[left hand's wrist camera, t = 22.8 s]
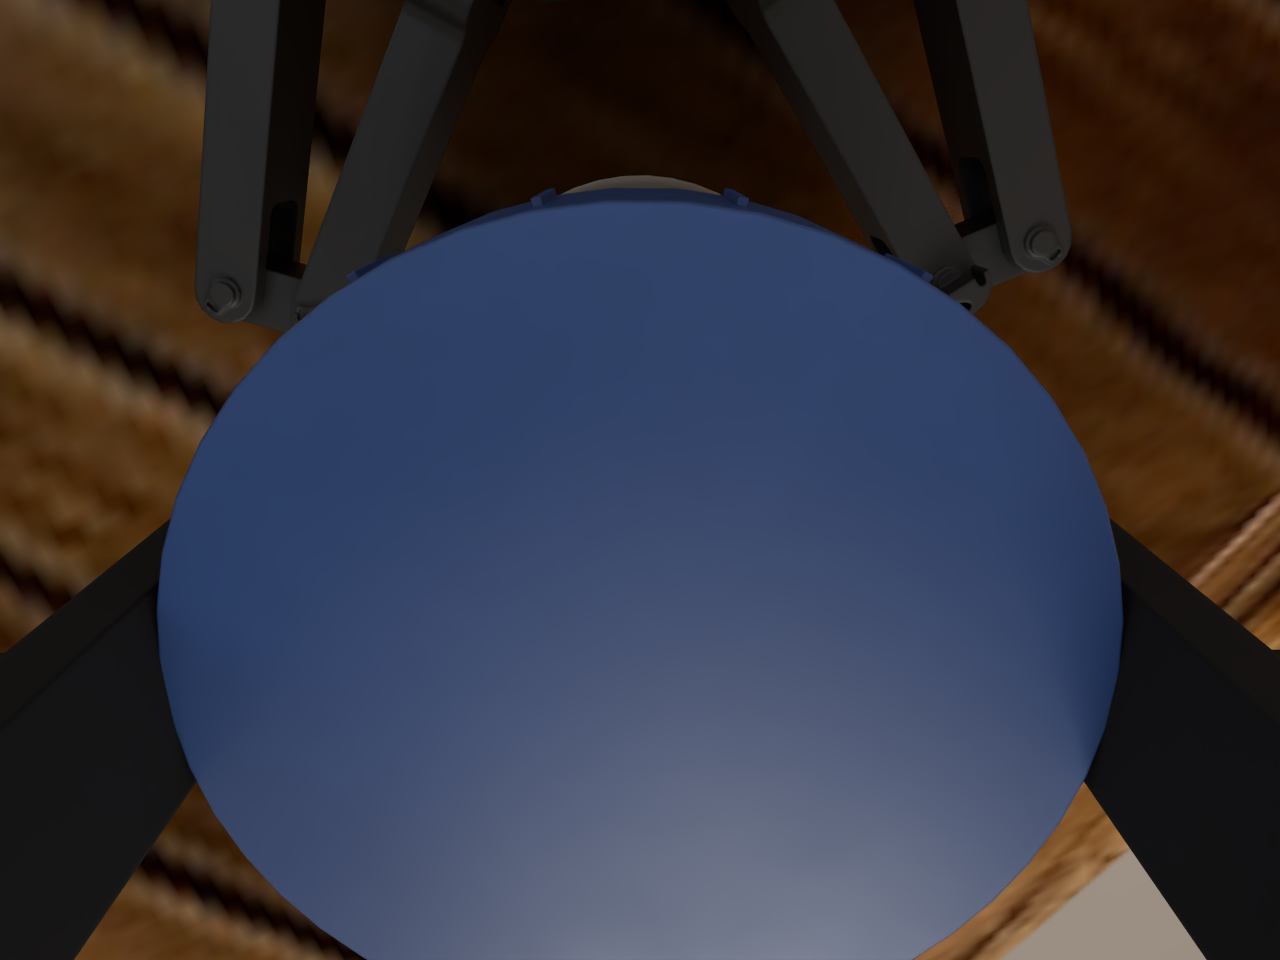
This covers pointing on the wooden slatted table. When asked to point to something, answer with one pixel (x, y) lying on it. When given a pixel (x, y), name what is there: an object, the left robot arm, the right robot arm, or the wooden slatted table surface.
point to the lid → (639, 596)
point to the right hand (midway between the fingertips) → (650, 587)
